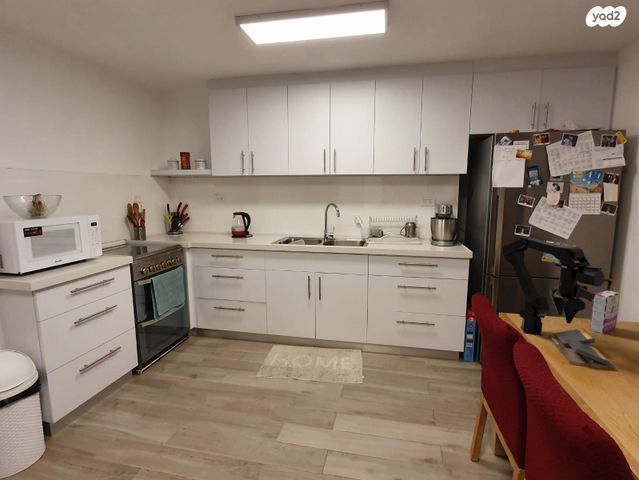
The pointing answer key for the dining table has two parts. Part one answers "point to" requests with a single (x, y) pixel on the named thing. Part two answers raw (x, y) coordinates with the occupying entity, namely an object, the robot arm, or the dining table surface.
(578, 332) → the block
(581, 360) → the switch unit
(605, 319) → the candy bar box
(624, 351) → the dining table surface
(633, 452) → the dining table surface
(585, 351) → the rocker outer
